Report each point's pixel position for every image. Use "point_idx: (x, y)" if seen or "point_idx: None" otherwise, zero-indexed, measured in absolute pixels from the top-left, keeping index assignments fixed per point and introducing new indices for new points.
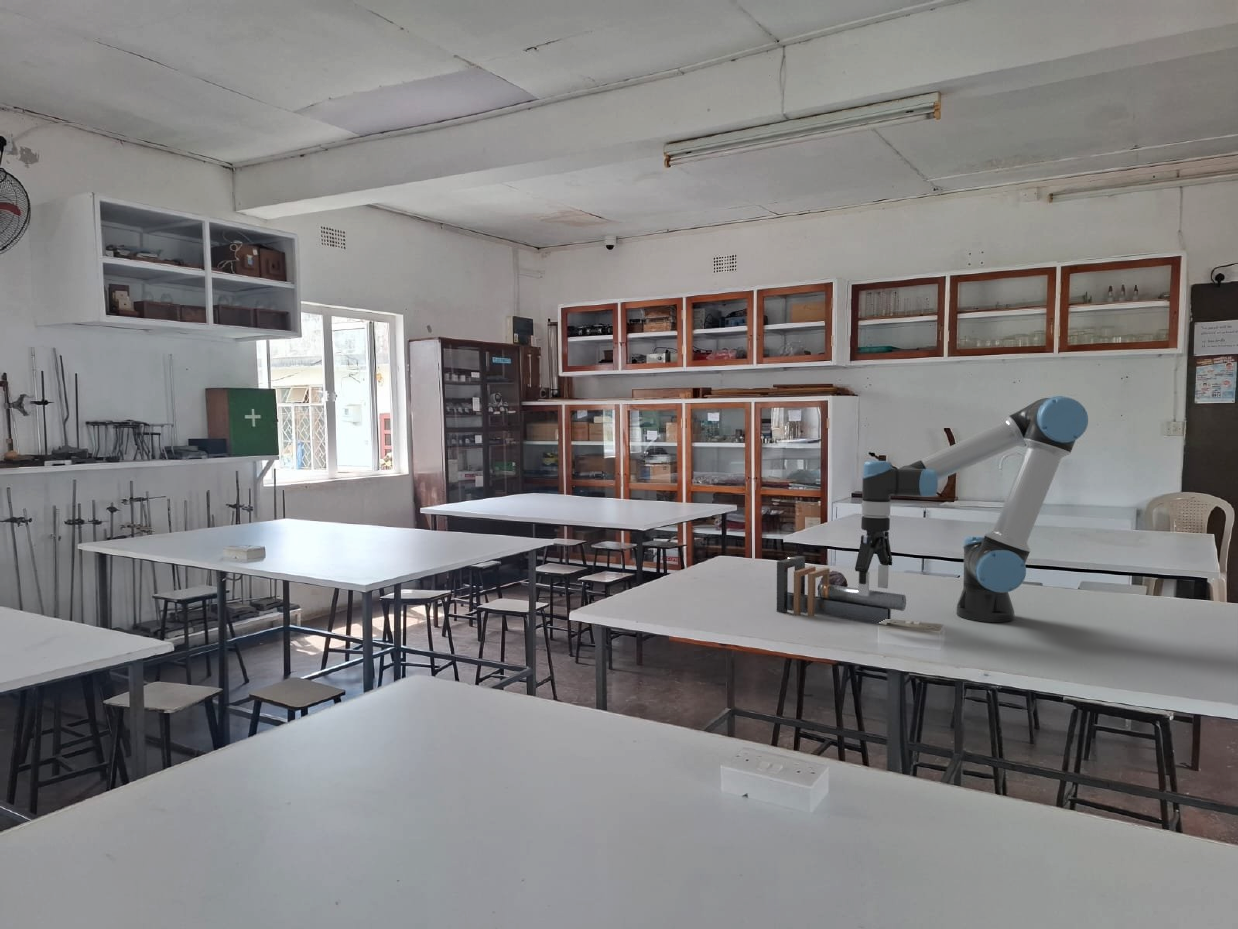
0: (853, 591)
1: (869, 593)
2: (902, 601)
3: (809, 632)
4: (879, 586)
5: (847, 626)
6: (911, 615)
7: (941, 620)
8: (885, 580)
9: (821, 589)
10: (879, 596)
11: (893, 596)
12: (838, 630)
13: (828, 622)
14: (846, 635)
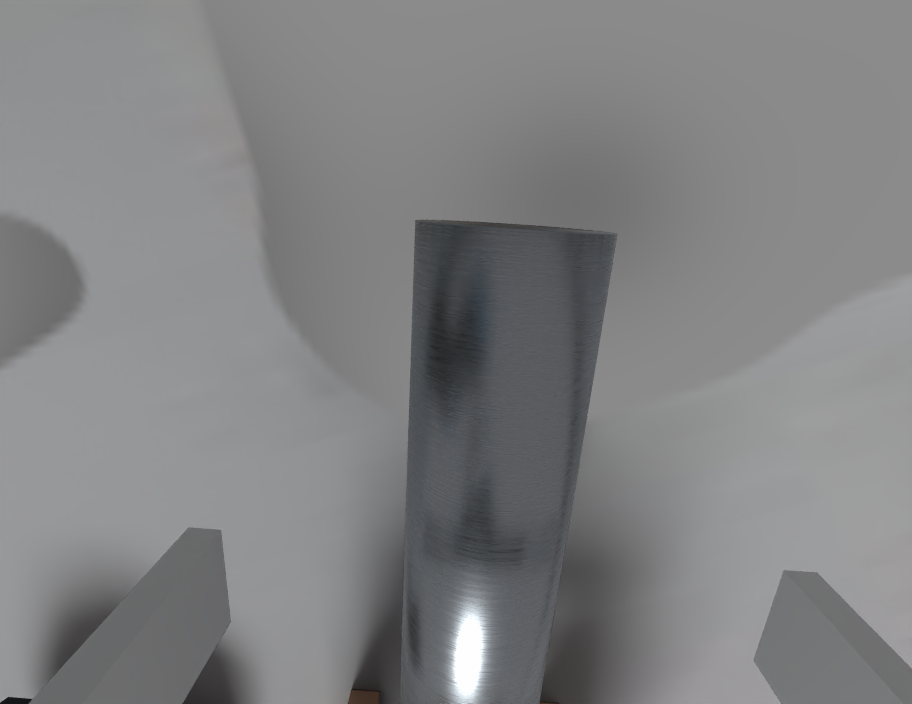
0: None
1: (545, 604)
2: (544, 229)
3: (907, 619)
4: (223, 616)
5: (676, 511)
6: (122, 272)
7: (94, 6)
8: (158, 636)
9: None
10: (568, 494)
11: (582, 346)
12: (798, 521)
13: (634, 613)
14: (905, 451)
